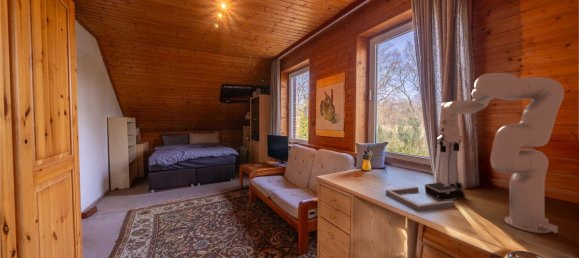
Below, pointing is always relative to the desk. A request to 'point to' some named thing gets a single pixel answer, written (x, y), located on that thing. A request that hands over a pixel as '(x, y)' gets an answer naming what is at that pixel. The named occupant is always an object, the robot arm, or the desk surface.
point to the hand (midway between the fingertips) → (449, 151)
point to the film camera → (445, 191)
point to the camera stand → (418, 207)
